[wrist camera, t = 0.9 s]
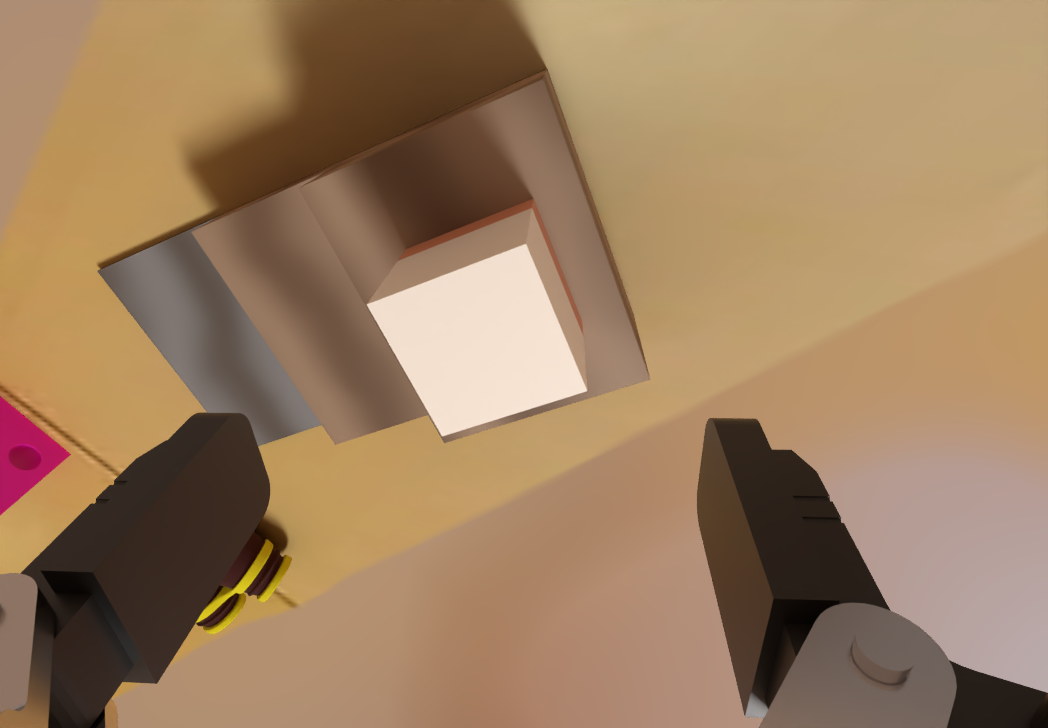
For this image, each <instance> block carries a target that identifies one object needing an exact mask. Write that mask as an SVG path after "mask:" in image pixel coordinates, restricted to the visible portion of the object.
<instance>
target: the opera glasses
mask: <svg viewBox="0 0 1048 728" xmlns="http://www.w3.org/2000/svg"><path fill="white" fill-rule="evenodd" d="M291 560H292V558H291V557H289V556H287V555H285V556H283V557H282V556H281V555H280V551H279V550H274V549H273V544H272V543H271V542H270V541H269V540H268V539H265V540H263V539H262V538H261V537H260V536H259V535H257V534H256V533H255V532H253V533H252V535H251V537H250V538H249V540H248V541H247V543H246V544H245V546H244V548H243V549H242V551H241V552H240V554H239V555H238V557H237V559H236V560H235V562H234V563H233V565H232V566H231V568H230V570H229V571H228V573H227V574H226V576H225V577H224V579H223V581H222V582H221V584H220V585H219V587H218V588H217V590H216V592H215V593H214V595H213V596H212V598H211V599H210V601H209V603H208V604H207V606H206V607H205V609H204V610H203V612H202V614H201V615H200V617H199V618H198V620H197V621H196V624H197V625H198V626H203V628H204V630H205V631H206V632H207V633H209V634H215V633H217V632H219V631H221V630H222V629H224V628H225V627H226V626H227V625H228V624H230V623H231V622H232V621H233V620H234V618H235V617H236V616H237V615H238V614H239V612H240V611H241V609H242V608H243V606H244V604H245V601H246V596H245V594H244V593H243V592H246V593H248V596H251V595H257V600H259V601H260V602H265V601H266V600H267V599H268V598H269V597H270V595H271V594H272V593H273V591H274V590H275V589H276V587H277V586H278V584H279V583H280V581H281V580H282V578H283V577H284V575H285V573H286V571H287V570H288V568H289V566H290V563H291Z"/></svg>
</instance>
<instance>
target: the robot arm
mask: <svg viewBox="0 0 1048 728" xmlns="http://www.w3.org/2000/svg"><path fill="white" fill-rule="evenodd" d="M269 498H270V483H269V478H268V475H267V472H266V469H265V466H264V463H263V460H262V457H261V454H260V451H259V448H258V445H257V442H256V439H255V436H254V433H253V430H252V427H251V424H250V421H249V420H248V418H247V417H246V416H245V415H244V414H241V413H196V414H194V415H193V416H191V417H190V418H189V419H188V420H187V421H186V422H185V423H184V424H183V425H182V426H181V427H180V428H179V429H178V430H177V431H176V432H175V433H174V434H173V435H172V436H171V437H170V439H169V440H166V441H164V442H163V443H161V444H159V445H158V446H156V447H155V448H153V449H151V450H150V451H148V452H147V453H145V454H143V455H142V456H140V457H138V458H137V459H136V460H135V461H134V462H133V463H132V464H130V465H129V466H128V467H127V468H126V469H125V470H124V471H123V472H122V473H121V474H120V475H119V476H118V477H117V478H116V479H115V480H114V485H109V486H108V487H107V488H106V489H105V490H104V491H103V492H102V493H101V494H100V495H99V496H98V497H97V498H96V503H95V504H90V505H89V506H88V507H87V508H86V509H85V510H84V511H83V512H82V513H81V514H80V515H79V516H78V517H77V518H76V519H75V520H74V521H73V522H72V523H71V524H70V525H69V526H68V527H67V528H66V529H65V530H64V531H63V532H62V533H61V534H60V535H59V536H58V537H57V538H56V539H55V540H54V541H53V542H52V543H51V544H50V545H49V546H48V547H47V548H46V549H45V550H44V551H43V552H42V553H41V554H40V555H39V556H38V557H36V558H35V559H34V560H33V561H32V562H31V563H30V564H29V565H28V566H27V567H26V568H25V569H24V570H23V571H22V572H21V573H20V574H19V573H9V574H1V575H0V728H118V713H117V707H116V705H115V703H114V702H113V700H112V696H113V695H114V693H115V692H116V690H117V689H118V687H119V686H120V685H121V683H122V682H136V683H155V684H157V683H158V681H159V680H160V678H161V676H162V675H163V673H164V672H165V670H166V669H167V667H168V665H169V664H170V662H171V661H172V659H173V658H174V656H175V654H176V653H177V651H178V650H179V648H180V647H181V645H182V643H183V642H184V640H185V639H186V637H187V636H188V634H189V632H190V631H191V629H192V628H193V626H194V625H195V623H196V621H197V620H198V618H199V617H200V615H201V614H202V612H203V610H204V609H205V607H206V606H207V604H208V603H209V601H210V599H211V598H212V596H213V595H214V593H215V592H216V590H217V588H218V587H219V585H220V584H221V582H222V581H223V579H224V577H225V576H226V574H227V573H228V571H229V570H230V568H231V566H232V565H233V563H234V562H235V560H236V559H237V557H238V555H239V554H240V552H241V551H242V549H243V548H244V546H245V544H246V543H247V541H248V540H249V538H250V537H251V535H252V533H253V532H254V530H255V529H256V527H257V526H258V524H259V522H260V521H261V519H262V518H263V516H264V514H265V512H266V510H267V507H268V503H269ZM697 513H698V522H699V527H700V531H701V535H702V540H703V544H704V548H705V552H706V557H707V561H708V565H709V569H710V573H711V577H712V582H713V586H714V590H715V594H716V598H717V602H718V606H719V610H720V615H721V619H722V623H723V627H724V631H725V636H726V639H727V644H728V648H729V652H730V656H731V661H732V665H733V669H734V673H735V677H736V681H737V685H738V690H739V694H740V698H741V702H742V706H743V711H744V715H745V717H756V718H764V719H763V721H762V722H761V724H760V726H759V728H1048V693H1046V692H1043V691H1039V690H1036V689H1033V688H1030V687H1026V686H1023V685H1020V684H1016V683H1013V682H1010V681H1007V680H1003V679H1000V678H997V677H994V676H990V675H987V674H984V673H980V672H977V671H974V670H971V669H969V668H966V667H963V666H960V665H958V664H956V663H954V662H952V661H950V660H948V658H947V656H946V655H945V653H944V652H943V650H942V649H941V648H940V646H939V645H938V644H937V643H936V642H935V641H934V640H933V639H932V638H931V637H930V636H929V635H928V634H927V633H926V632H924V631H923V630H922V629H921V628H920V627H918V626H917V625H915V624H914V623H912V622H911V621H910V620H908V619H906V618H904V617H902V616H900V615H899V614H897V613H894V612H892V611H891V610H890V609H889V607H888V605H887V604H886V602H885V600H884V598H883V596H882V594H881V592H880V590H879V589H878V587H877V585H876V583H875V581H874V579H873V577H872V575H871V573H870V572H869V570H868V568H867V566H866V564H865V562H864V560H863V559H862V557H861V555H860V553H859V551H858V549H857V547H856V545H855V543H854V541H853V539H852V538H851V536H850V534H849V532H848V530H847V528H846V526H845V524H844V523H841V517H840V515H839V513H838V511H837V509H836V507H835V506H834V504H833V502H830V497H829V494H828V492H827V490H826V489H825V487H824V485H823V483H822V481H821V479H820V477H819V475H818V473H817V472H816V471H815V470H814V469H813V468H812V467H811V466H810V465H808V464H807V463H806V462H805V461H804V460H803V459H801V458H800V457H799V456H798V455H797V454H796V453H794V452H793V451H792V450H772V449H771V447H770V445H769V443H768V441H767V438H766V436H765V434H764V432H763V430H762V427H761V425H760V423H759V421H758V420H756V419H732V418H710V419H708V421H707V424H706V428H705V436H704V444H703V452H702V459H701V466H700V474H699V482H698V490H697Z"/></svg>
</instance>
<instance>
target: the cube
mask: <svg viewBox="0 0 1048 728" xmlns="http://www.w3.org/2000/svg"><path fill="white" fill-rule="evenodd" d="M367 306H368V308H369V310H370V311H371V313H372V315H373V317H374V318H375V320H376V322H377V324H378V325H379V327H380V329H381V331H382V332H383V334H384V336H385V338H386V339H387V341H388V343H389V345H390V346H391V348H392V350H393V352H394V353H395V355H396V357H397V359H398V360H399V362H400V364H401V366H402V367H403V369H404V371H405V373H406V374H407V376H408V378H409V380H410V381H411V383H412V385H413V387H414V388H415V390H416V392H417V394H418V395H419V397H420V399H421V401H422V402H423V404H424V406H425V408H426V409H427V411H428V413H429V415H430V416H431V418H432V420H433V422H434V423H435V425H436V427H437V429H438V430H439V432H440V434H441V436H445V435H449V434H452V433H455V432H458V431H461V430H465V429H468V428H471V427H474V426H477V425H481V424H484V423H487V422H490V421H493V420H497V419H500V418H503V417H506V416H509V415H513V414H516V413H519V412H522V411H525V410H529V409H532V408H535V407H538V406H541V405H545V404H548V403H551V402H554V401H557V400H561V399H564V398H567V397H570V396H573V395H577V394H580V393H583V392H586V391H587V379H586V365H585V351H584V338H583V324H582V320H581V317H580V315H579V312H578V310H577V307H576V305H575V302H574V300H573V297H572V294H571V292H570V289H569V287H568V284H567V282H566V279H565V277H564V274H563V272H562V269H561V267H560V264H559V262H558V259H557V257H556V254H555V252H554V249H553V246H552V244H551V241H550V239H549V236H548V234H547V231H546V229H545V226H544V224H543V221H542V219H541V216H540V214H539V211H538V209H537V206H536V204H535V201H534V199H531V200H528V201H526V202H523V203H521V204H518V205H516V206H513V207H511V208H508V209H506V210H503V211H501V212H498V213H496V214H493V215H491V216H488V217H486V218H483V219H481V220H478V221H476V222H473V223H471V224H468V225H466V226H463V227H461V228H458V229H456V230H453V231H451V232H448V233H446V234H443V235H441V236H438V237H436V238H433V239H431V240H428V241H426V242H423V243H421V244H418V245H416V246H413V247H411V248H408V249H406V250H405V251H404V253H403V254H402V255H401V257H400V258H399V260H398V261H397V262H396V264H395V265H394V267H393V268H392V269H391V271H390V272H389V274H388V275H387V276H386V278H385V279H384V281H383V282H382V284H381V285H380V286H379V288H378V289H377V291H376V292H375V293H374V295H373V296H372V298H371V299H370V300H369V302H368V303H367Z"/></svg>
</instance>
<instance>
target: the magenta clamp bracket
mask: <svg viewBox="0 0 1048 728" xmlns="http://www.w3.org/2000/svg"><path fill="white" fill-rule="evenodd" d="M69 455H71V454H70V453H68V452H67V451H66V450H65V449H64V448H62V447H61V446H60V445H59V444H58V443H56V442H55V441H54V440H53V439H51V438H50V437H49V436H48V435H47V434H45V433H44V432H43V431H42V430H41V429H39V428H38V427H37V426H36V425H34V424H33V423H32V422H31V421H30V420H28V419H27V418H26V417H25V416H24V415H22V414H21V413H20V412H19V411H17V410H16V409H15V408H14V407H13V406H11V405H10V404H9V403H8V402H7V401H5V400H4V399H3V398H2V397H0V515H1V514H2V513H3V512H5V511H6V510H7V509H8V508H9V507H10V506H12V505H13V504H14V503H15V502H16V501H17V500H18V499H20V498H21V497H22V496H23V495H24V494H25V493H27V492H28V491H29V490H30V489H31V488H32V487H34V486H35V485H36V484H37V483H38V482H39V481H41V480H42V479H43V478H44V477H45V476H46V475H47V474H49V473H50V472H51V471H52V470H53V469H54V468H56V467H57V466H58V465H59V464H60V463H61V462H63V461H64V460H65V459H66V458H67V457H68V456H69Z"/></svg>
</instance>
